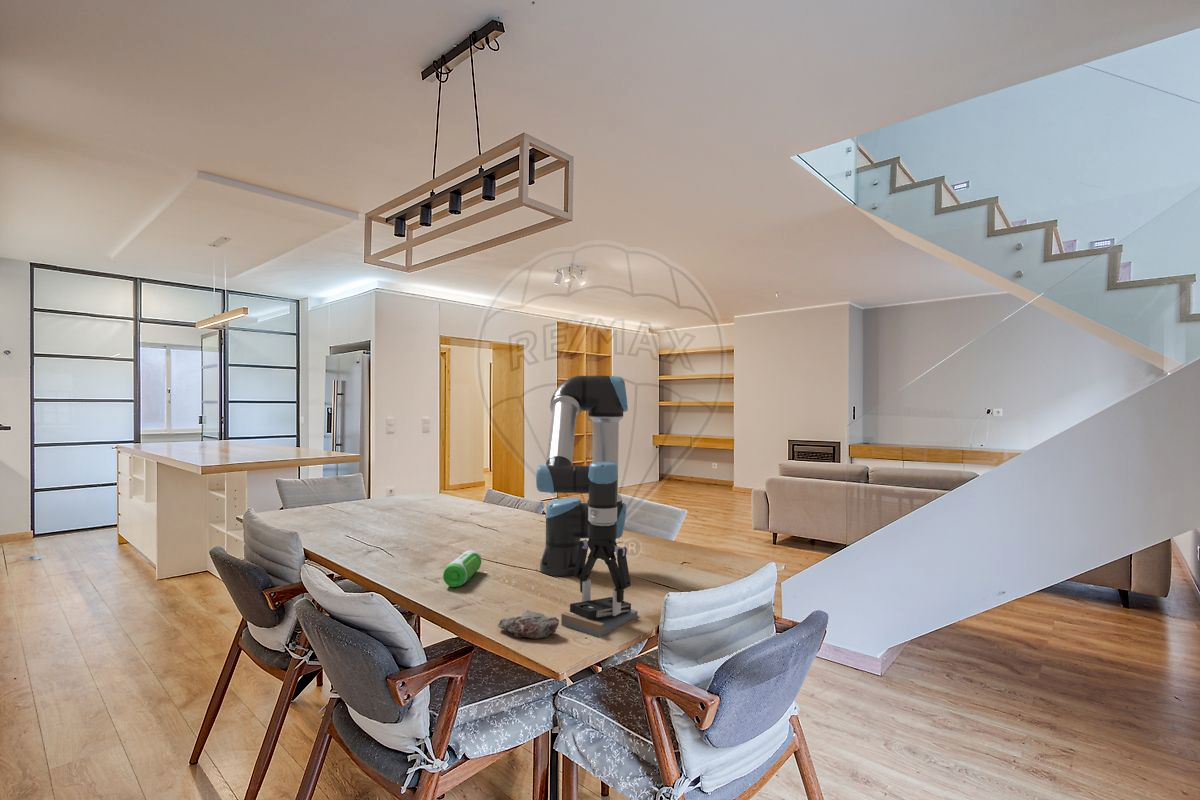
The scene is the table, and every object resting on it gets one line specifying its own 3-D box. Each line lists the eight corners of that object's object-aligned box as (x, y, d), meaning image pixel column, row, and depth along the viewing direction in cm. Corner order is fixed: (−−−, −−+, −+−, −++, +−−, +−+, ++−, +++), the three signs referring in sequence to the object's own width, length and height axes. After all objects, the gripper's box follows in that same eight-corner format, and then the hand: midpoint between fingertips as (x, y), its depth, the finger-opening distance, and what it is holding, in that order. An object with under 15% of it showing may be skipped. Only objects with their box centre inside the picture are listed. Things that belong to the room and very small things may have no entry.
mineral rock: (493, 633, 137) (493, 615, 137) (514, 622, 144) (515, 605, 144) (542, 648, 129) (543, 628, 129) (562, 635, 136) (562, 617, 136)
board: (561, 624, 142) (561, 613, 142) (603, 603, 157) (603, 593, 157) (600, 637, 135) (600, 625, 135) (640, 613, 150) (640, 603, 150)
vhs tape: (589, 619, 138) (589, 611, 138) (569, 611, 144) (570, 603, 144) (631, 611, 147) (631, 603, 147) (611, 604, 153) (611, 596, 153)
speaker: (464, 589, 168) (465, 564, 168) (441, 588, 168) (441, 563, 168) (482, 572, 185) (483, 549, 185) (461, 571, 186) (461, 548, 186)
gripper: (560, 519, 149) (559, 604, 149) (630, 531, 136) (628, 624, 136) (578, 514, 155) (576, 596, 155) (646, 526, 143) (644, 615, 143)
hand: (601, 609), depth 146 cm, fingers closed on vhs tape, 9 cm apart
